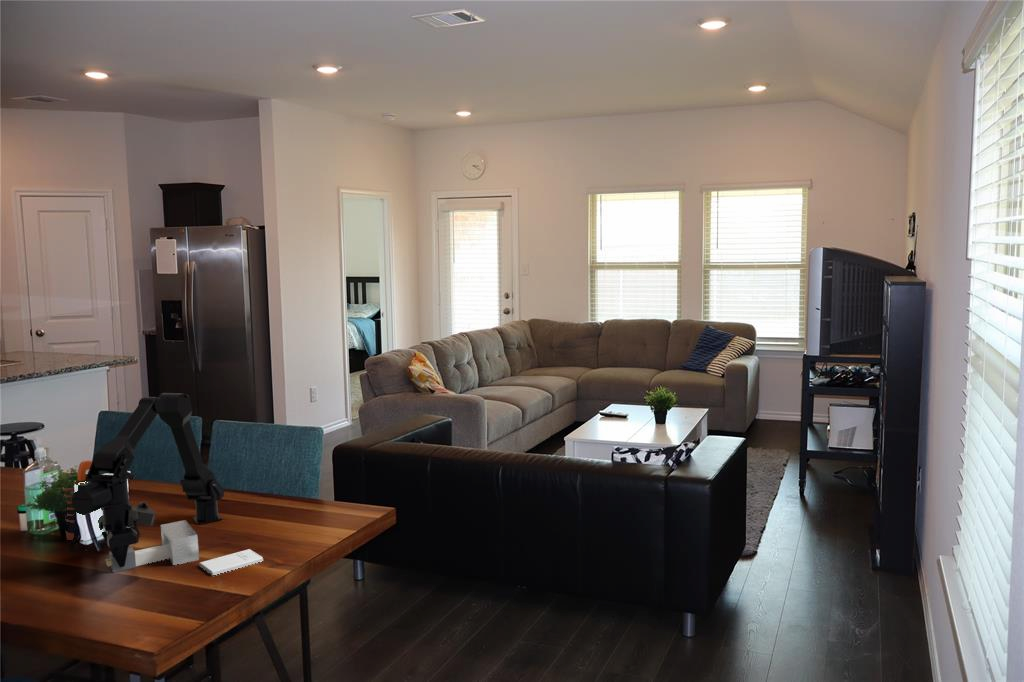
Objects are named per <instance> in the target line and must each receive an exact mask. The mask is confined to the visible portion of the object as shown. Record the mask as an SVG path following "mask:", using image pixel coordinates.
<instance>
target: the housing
mask: <svg viewBox="0 0 1024 682" xmlns="http://www.w3.org/2000/svg"><path fill="white" fill-rule="evenodd" d="M160 532H161V533H160V534H161V545H165V544H169V551H170V559H169V561H170V563H171V564H172V566H173V565H175V566H178V565H177V564H179V565H183V564H188V563H191V562H196V561H199V560H200V553H199V539H198V534H197V532H196V531H195V530H194V529H193V527H192V526H191V525H190V524H189V522H188V521H187V520H185V519H184V520H179V521H178V520H177V521H173V522H169V523H164V524H163V523H162V524H160ZM187 562H188V563H187Z"/></svg>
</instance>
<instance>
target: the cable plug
mask: <svg viewBox="0 0 1024 682" xmlns="http://www.w3.org/2000/svg"><path fill="white" fill-rule="evenodd" d="M108 552H109V558H106V559H105V563H106V566H107V567H110V569H111V571H112V573H117V572H122V571H127V570H131V569H136V568H137V567H140V566H144V565H147V564H148V563H149V564H152V562H153V563H156V562H157V561H158V562H162V561H166V560H165V559H167V560H170V559H169V558H170V551H169V544H165V545H162V544H161V545H157V546H156V545H155V546H152V547H148V548H147V547H146V548H143V549H142V548H141V549H138V550H134V548H133V546H129V547H128V551H127V556H126V562H125V566H124V567H119V565H118V563H117V561H116V560H115V558H114V556H113V554H112V552H111V551H108ZM161 560H162V561H161ZM149 564H148V565H149Z"/></svg>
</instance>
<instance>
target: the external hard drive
mask: <svg viewBox="0 0 1024 682" xmlns="http://www.w3.org/2000/svg"><path fill="white" fill-rule="evenodd" d="M262 561H263V562H264V558H263V556H262V555H260V554H258V553H257V552H255V551H254V550H252V549H250V548H248V549H245V550H241V551H237V552H234V553H229V554H226V555H223V556H219V557H218V556H217V557H215V558H211V559H208V560H204V561H200V562H199V563H198V564H199V568H201V569H202V568H203V569H202V570H204V571H205V570H206V571H207V572H206V571H205V572H206V573H207V574H209V573H210V574H211V575H210V574H209V575H210V576H211V577H214V576H213V575H216V576H218V575H217V574H219V575H221V574H220V573H223V574H225V573H224V572H226V573H228V572H227V571H229V572H232V571H231V570H233V571H236V570H238V568H240V569H243V568H246V567H248V565H250V566H253V565H256V564H259V563H258V562H260V563H262ZM255 563H256V564H255ZM252 564H253V565H252ZM245 566H246V567H245ZM242 567H243V568H242ZM235 569H236V570H235Z"/></svg>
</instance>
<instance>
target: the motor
mask: <svg viewBox="0 0 1024 682" xmlns="http://www.w3.org/2000/svg"><path fill="white" fill-rule="evenodd" d="M92 461H93V460H83V461H81V462H80V463H79V465H78V469H77V474H75V475H74V474H73V475H70V476H69V475H68V476H66V477H63V478H62V480H63V479H65V478H74V479H75V480H76V482H75V484H76V485H78V483H79V482H85V479H86V476H87V474H88V473H87V472H88V471H89V469H90V466H91V464H92ZM85 483H87V482H85ZM80 484H84V483H80ZM73 485H74V484H73ZM61 488H62V489H63V490H62V491H63V492H64V491H74V488H64V487H62V486H61ZM64 496H65V497H68V498H72V497H73V495H67V494H64ZM64 496H63V497H64ZM65 497H64V498H65ZM67 504H72V501H67ZM67 510H75V509H74V508H73V507H67ZM73 515H74V514H70V513H69V514H68V513H67V516H73ZM67 516H66V517H67ZM65 521H66V522H70V523H75V522H74V521H75V520H69V519H66V518H65ZM65 535H66V541H68V540H73V538H74V533H69V532H67V531H66V530H65Z"/></svg>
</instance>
